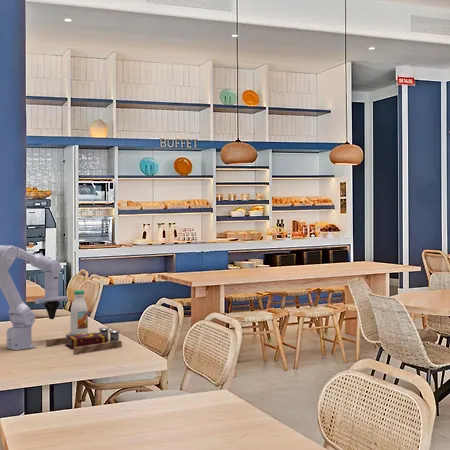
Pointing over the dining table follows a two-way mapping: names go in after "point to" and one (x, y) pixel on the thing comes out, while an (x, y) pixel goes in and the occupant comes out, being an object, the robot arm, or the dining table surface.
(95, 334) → the decorative book
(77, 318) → the milk bottle
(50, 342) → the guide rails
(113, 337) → the boss posts
